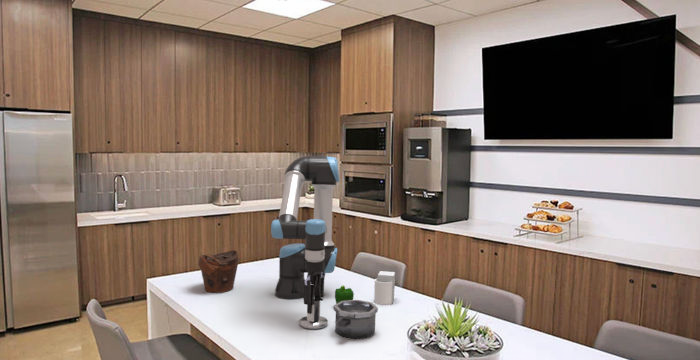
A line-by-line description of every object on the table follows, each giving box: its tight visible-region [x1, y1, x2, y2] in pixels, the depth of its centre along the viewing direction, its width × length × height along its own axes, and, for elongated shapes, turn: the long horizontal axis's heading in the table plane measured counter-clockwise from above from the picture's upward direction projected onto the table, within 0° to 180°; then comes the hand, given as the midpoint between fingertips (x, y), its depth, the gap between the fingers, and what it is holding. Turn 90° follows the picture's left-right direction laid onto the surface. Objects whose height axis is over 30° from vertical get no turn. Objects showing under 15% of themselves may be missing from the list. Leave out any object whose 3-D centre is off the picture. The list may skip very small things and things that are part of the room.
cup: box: [373, 277, 393, 306], centre depth 216 cm, size 8×12×10 cm
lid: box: [298, 298, 329, 330], centre depth 185 cm, size 11×11×9 cm
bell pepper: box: [334, 285, 355, 305], centre depth 206 cm, size 8×8×10 cm
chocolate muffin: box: [197, 249, 240, 293], centre depth 227 cm, size 18×20×18 cm
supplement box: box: [377, 270, 396, 304], centre depth 216 cm, size 7×7×13 cm
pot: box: [333, 299, 379, 340], centre depth 179 cm, size 15×24×10 cm, turn 154°
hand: (313, 318), depth 185 cm, fingers closed on lid, 4 cm apart
